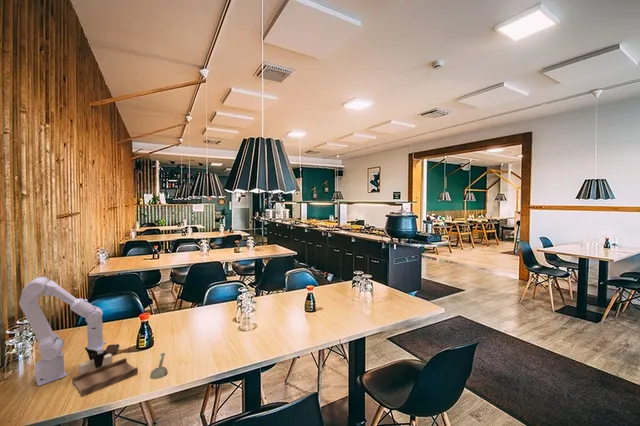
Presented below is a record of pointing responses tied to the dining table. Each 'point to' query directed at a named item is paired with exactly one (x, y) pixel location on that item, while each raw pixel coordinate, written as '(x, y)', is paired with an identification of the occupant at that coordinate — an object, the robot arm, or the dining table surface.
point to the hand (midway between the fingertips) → (96, 364)
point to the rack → (103, 376)
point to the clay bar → (91, 365)
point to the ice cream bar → (112, 349)
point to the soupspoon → (159, 370)
